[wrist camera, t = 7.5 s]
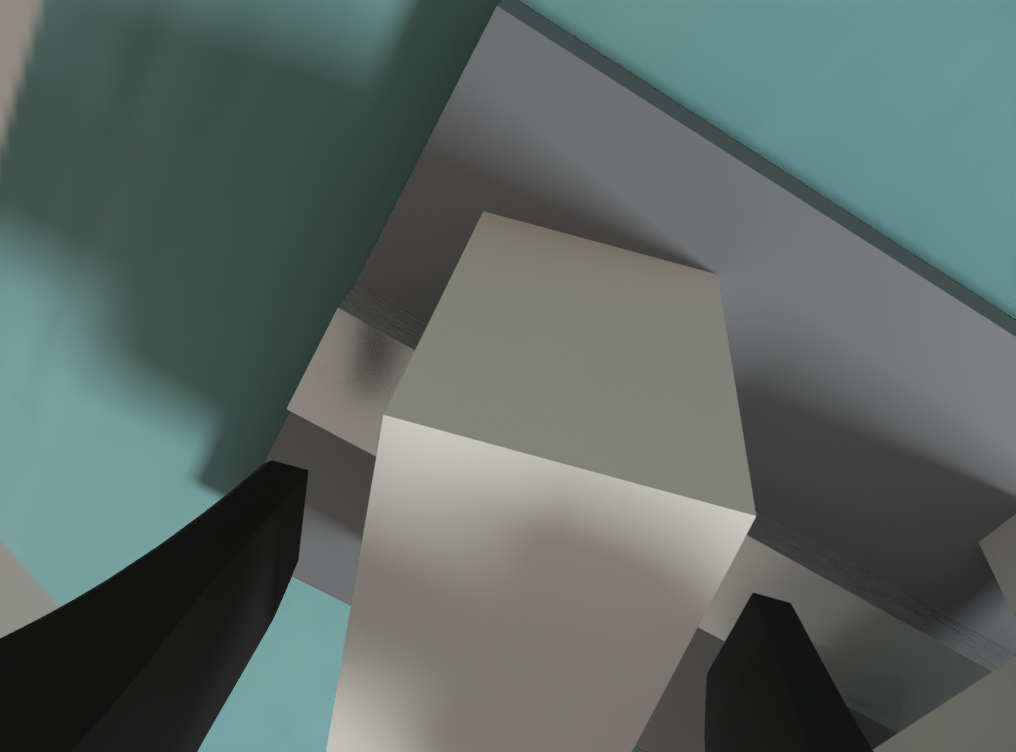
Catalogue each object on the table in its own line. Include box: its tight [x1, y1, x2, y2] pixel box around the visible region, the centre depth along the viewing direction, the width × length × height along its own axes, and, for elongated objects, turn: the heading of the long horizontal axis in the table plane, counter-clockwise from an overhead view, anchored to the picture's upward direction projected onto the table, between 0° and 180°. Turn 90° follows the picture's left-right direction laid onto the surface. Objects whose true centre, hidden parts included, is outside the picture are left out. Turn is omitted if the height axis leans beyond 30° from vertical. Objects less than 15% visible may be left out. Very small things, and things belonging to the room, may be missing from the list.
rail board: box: [264, 0, 1016, 752], centre depth 15 cm, size 17×13×7 cm
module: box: [326, 211, 756, 752], centre depth 13 cm, size 4×9×6 cm, turn 167°
